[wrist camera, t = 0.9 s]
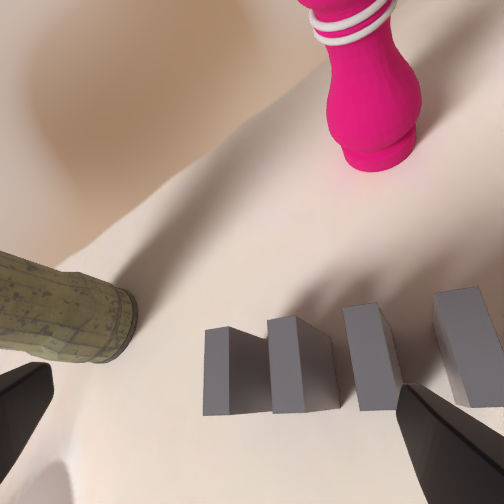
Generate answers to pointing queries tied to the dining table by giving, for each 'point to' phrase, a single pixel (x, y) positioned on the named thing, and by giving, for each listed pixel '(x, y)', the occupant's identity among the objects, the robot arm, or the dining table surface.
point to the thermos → (62, 313)
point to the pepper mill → (366, 82)
